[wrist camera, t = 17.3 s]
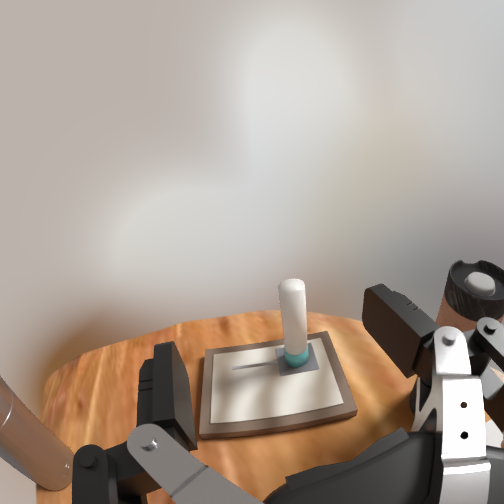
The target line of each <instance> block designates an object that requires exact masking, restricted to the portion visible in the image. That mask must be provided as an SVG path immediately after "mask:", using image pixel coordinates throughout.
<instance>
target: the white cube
mask: <svg viewBox="0 0 504 504" xmlns="http://www.w3.org/2000/svg"><path fill="white" fill-rule="evenodd" d="M502 441H503V434H502V433H501V431H500V430H499V428H498V427H497V426H496V424H495V423H494V422H493V420H492V419H491V420H490V421H488V422H486V423H485V445H489V446H494V447H499V448H501V442H502Z"/></svg>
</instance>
